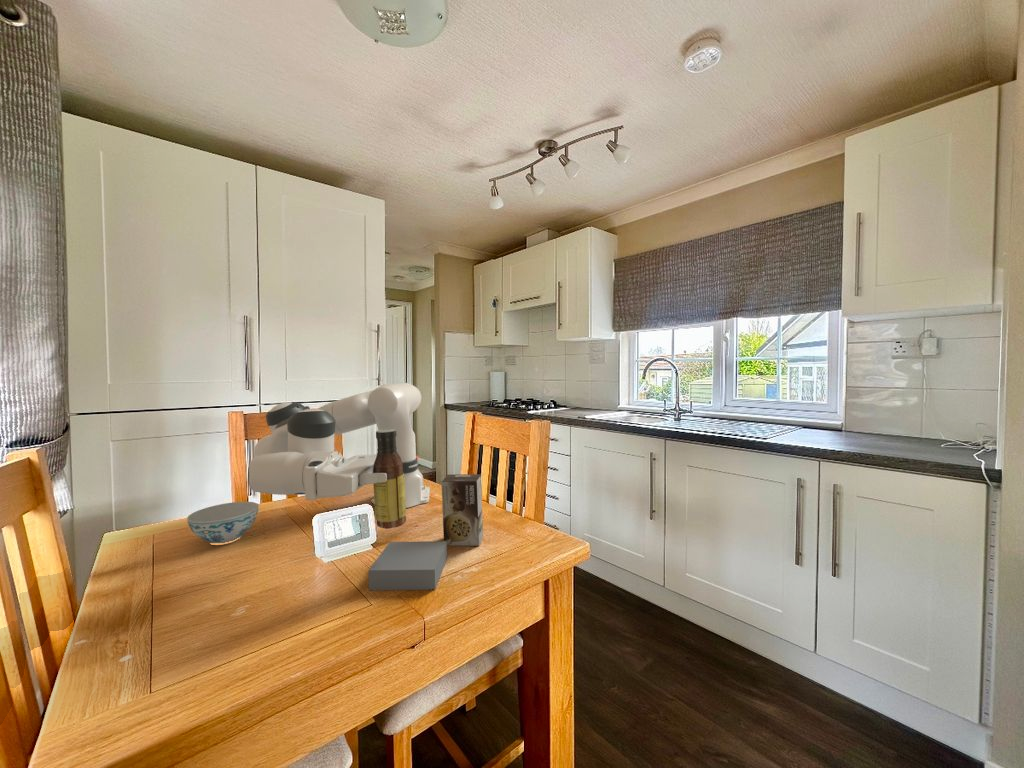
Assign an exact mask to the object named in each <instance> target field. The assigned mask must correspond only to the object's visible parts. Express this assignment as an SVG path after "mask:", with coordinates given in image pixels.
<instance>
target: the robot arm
mask: <svg viewBox="0 0 1024 768" xmlns="http://www.w3.org/2000/svg"><path fill="white" fill-rule="evenodd" d="M421 403H422V393H421V391H420V389H419V388H418V387H416V386H415V385H413V384H411V383H408V382H396V383H385V384H381V385H380V386H378V387H376V388H375V389H373V390H369V391H365V392H361V393H356V394H353V395H350V396H348V397H344V398H341V399H338V400H334V401H331V402H329V403H326V404H324V405H322V406H320V407H317V408H311V407H310V406H307V405H306V406H305V405H303V404H302V403H299V402H295V401H291V402H282V403H279V404H277V405H274V406H273V407H272V408H271V409H270V410H269V411H267V412H266V414H265V421H266V425H267V426H268V427H269V430H270V433H271V434H269V435H265V436H264V437H262V438H261V439H259V440H258V441H257V443H256V444H255V446H254V449H253V457H252V459H251V461H250V463H249V464H248V470H247V483H248V486H249V489H251V491H252V492H255V493H260V494H268V495H278V496H279V495H280V496H286V495H287V496H288V495H290V496H291V495H305V500H306V501H316V500H319V499H320V498H322V499H323V498H338V497H339V498H340V497H346V496H350V495H353V494H354V493H355V492H357V491H358V490H360V489H361V488H362V487H364V486H367V485H369V486H370V485H371V484H372V485H373V483H384V482H386V481H387V480H388V472H379V473H373V467H374V462H375V459H376V456H377V453H376V454H360V455H353V456H351V457H349V458H347V457H343V455H342V453H340V452H339V451H335V436H337V435H342V434H345V433H350V432H353V431H356V430H360V429H363V428H366V427H370V426H374V425H376V426H377V431H378V430H383V429H395V430H396V434H397V435H396V448H397V453H398V454H399V456H400V457H401V460H402V462H403V472H404V484H405V501H406V509H407V508H412V507H414V506H418V505H421V504H426V503H429V502H430V494H431V492H430V491H431V490H430V488H431V487H429V486H425V485H424V475H423V474H422V472H421V471H420V470H419V456H418V455H417V448H416V446H417V443H416V433H415V432H414V430H413V428H412V423H411V419H410V415H411V414H413V413H414V412H416V411H417V409H418V408H419V407H420V405H421ZM371 502H372V503H373V504H372V503H371ZM370 503H371V504H372V505H375V503H374V497H373V498H372V499H370Z"/></svg>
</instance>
